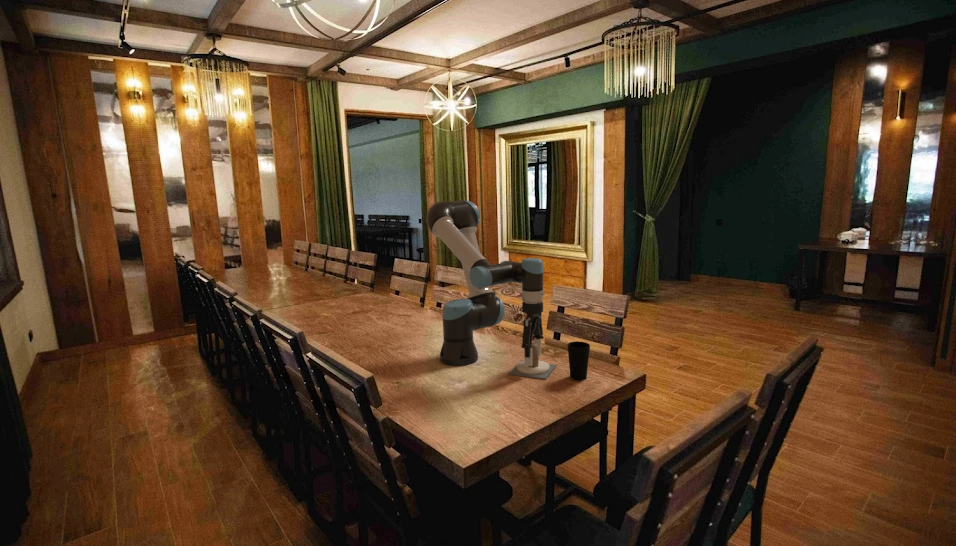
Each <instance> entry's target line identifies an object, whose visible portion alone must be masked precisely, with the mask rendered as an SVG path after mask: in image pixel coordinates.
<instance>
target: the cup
mask: <svg viewBox="0 0 956 546" xmlns="http://www.w3.org/2000/svg"><path fill="white" fill-rule="evenodd" d="M590 348H591V344H590V343H588V342H585V341H577V340H576V341H570V342H568V343H567V352H568V353H567V354H568V363H569V364H568V366H569V375H570V376H569V378H570V379H571V380H573V381H577V382H578V381H579V382H580V381H585V380H587V377H588V376H587V375H588V368H589V359H590V350H591V349H590Z"/></svg>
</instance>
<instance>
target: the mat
mask: <svg viewBox="0 0 956 546" xmlns="http://www.w3.org/2000/svg"><path fill="white" fill-rule="evenodd" d="M521 361H524V359H523V360H522V359H521V360H520V361H519V362H521ZM548 364H549V371H548V372H546V373H544V374H539V375H529V374H524V373H521V372H519V371H518V370H517V364H516V365H515V366H514V367H513V368H511V369H510V371H509V372H508V373H507V374H508V375H511V376H519V377H525V378H531V379H538V380H539V379H540V380H548V378H549V377H550V375H551V374H552V373H553V372H554V370H555V369H556V367H558V365H557V364H554V363H548Z"/></svg>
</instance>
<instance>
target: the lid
mask: <svg viewBox="0 0 956 546" xmlns="http://www.w3.org/2000/svg"><path fill="white" fill-rule="evenodd" d="M531 348H532V366H526V365H524V361H521V360H520V361H521V362H520V361H519V362H518V363H516V365H517V370H518V371H519V372H521V373H524V374H529V375H539V374H544V373H546V372H548V371H549V364H550V363H548V362H546V361H543V360H539V356H538V344H537V343H534V342H532V345H531Z"/></svg>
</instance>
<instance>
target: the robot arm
mask: <svg viewBox="0 0 956 546" xmlns="http://www.w3.org/2000/svg"><path fill="white" fill-rule="evenodd" d="M425 218H426V220H425V221H426V225H427V227H428V230H429V231H430V232H431V233H432V235H433V236H435V237H437V238H439V239H440V240H441V241H442V242H443V243H444V244H445V246H447V248H448V249H449V250H450V251H451V252H452V253H453V255H454V256H455V257H456V258H457V259H458V261H460V263H461V266H462V269H463V270H462V271H463V275H464V277H465V282H466V287H467V289H468V295H467V297H466V298H456V299H452V300H449V301H447V302H445V304H444V305H443V307H442V314H441V317H442V332H443V333H442V334H443V342H442V346H441V349H440V351H439V352H440V353H439V362H441V364H444V365H448V366H456V367H457V366H467V365H471V364H474V363H476V362H477V361H478V360H479V352H478V350H477V347H476V344H475V342H474V331H478V330H482V329H486V328H491V327H494V326H496V325H499V324H501V323H502V321H503V319H504V316H505V305H504V301H503V300H502V299H501V298H500V297H499V296H496V294H495V291H494V290H492V289H491V288H490V287H492V286H498V285H504V284H508V283H509V284H510V283H517V284H518V283H519V284H521V300H522V303H521V309H522V310H521V311H522V313H523V314H526V317H525V319H524V320H523V322H522V323H523V328H522V330H523V331H522V341H521V343H522V344H521V348H522V349H523V350H524V351H523V357H524V359H523V360H524V365H526V366H532V348H531V345H532V343H537V344H538V357H541V356H542V340H543V339H544V336H543V335H544V330H543V321H542V314H543V312H544V302H543V300H544V296H545V293H544V262H543V259H541V258H539V257H535V258H534V257H526V258H523V259H522V260H521V262H519V261H514V260H513V261H512V260H503V261H501V262H500V263H493V264H491V262H489V261H488V259H486V258H485V257H484V255H482V253H481V251H480V248H479V243H478V239H477V235H476V234H477V231H478V229H479V228H478V226H479V224H480V221H481V220H480V219H481V214H480V210H479V208H478V206H477V205H476V204H475V203H474V202H472V201H469V200H463V199H461V200H448V201H447V200H446V201H445V200H444V201H438V202H435V203H433V204H432V205H431V206H430V207H429V209H428V210H427V213H426V217H425ZM533 337H534V338H533Z"/></svg>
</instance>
